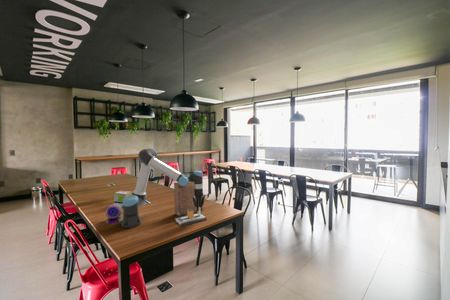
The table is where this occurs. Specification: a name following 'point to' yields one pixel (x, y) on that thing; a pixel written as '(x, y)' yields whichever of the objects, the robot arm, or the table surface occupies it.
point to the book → (184, 198)
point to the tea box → (121, 197)
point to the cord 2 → (193, 221)
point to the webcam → (114, 213)
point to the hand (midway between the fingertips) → (199, 214)
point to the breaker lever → (190, 213)
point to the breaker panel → (186, 219)
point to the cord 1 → (183, 216)
